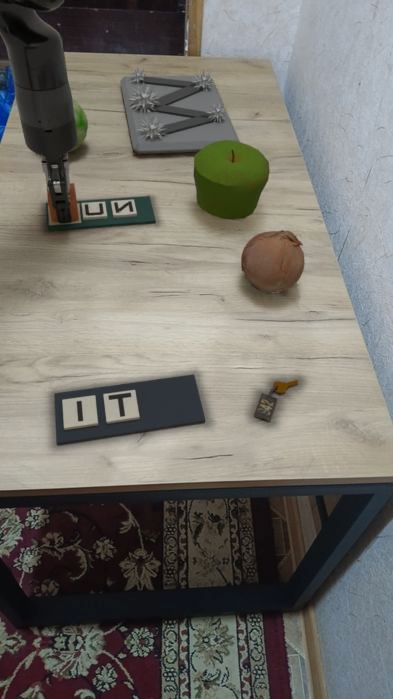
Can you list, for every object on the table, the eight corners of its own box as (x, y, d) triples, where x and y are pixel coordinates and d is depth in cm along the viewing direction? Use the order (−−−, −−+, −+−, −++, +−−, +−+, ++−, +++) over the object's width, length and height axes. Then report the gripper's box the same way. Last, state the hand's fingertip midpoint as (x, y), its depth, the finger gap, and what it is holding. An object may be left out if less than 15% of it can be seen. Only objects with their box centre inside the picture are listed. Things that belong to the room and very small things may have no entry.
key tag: (267, 424, 61) (268, 422, 61) (247, 411, 62) (248, 409, 62) (299, 381, 66) (300, 379, 65) (279, 370, 67) (280, 367, 66)
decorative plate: (241, 154, 99) (246, 120, 93) (133, 158, 95) (132, 122, 90) (211, 84, 116) (214, 51, 111) (120, 85, 113) (118, 51, 107)
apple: (190, 228, 84) (194, 169, 75) (191, 186, 91) (195, 127, 82) (262, 232, 84) (275, 174, 75) (258, 190, 92) (269, 132, 83)
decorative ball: (36, 162, 92) (25, 110, 84) (40, 134, 98) (30, 82, 90) (89, 163, 93) (83, 111, 85) (91, 135, 99) (85, 84, 91)
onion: (275, 282, 81) (305, 229, 76) (292, 313, 74) (327, 256, 69) (224, 266, 78) (252, 208, 73) (237, 296, 71) (270, 234, 66)
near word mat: (57, 445, 58) (55, 440, 57) (54, 395, 62) (53, 390, 61) (205, 422, 61) (206, 417, 60) (193, 376, 65) (194, 371, 64)
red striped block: (51, 221, 81) (47, 200, 78) (50, 205, 83) (46, 184, 80) (79, 219, 82) (75, 198, 78) (77, 203, 84) (74, 182, 81)
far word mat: (47, 231, 81) (46, 225, 80) (46, 205, 85) (44, 199, 84) (155, 223, 84) (155, 217, 83) (149, 198, 88) (149, 192, 87)
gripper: (19, 88, 72) (40, 188, 86) (18, 140, 64) (42, 242, 78) (71, 86, 74) (83, 185, 87) (77, 137, 65) (90, 238, 79)
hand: (64, 212), depth 82 cm, fingers closed on red striped block, 4 cm apart
